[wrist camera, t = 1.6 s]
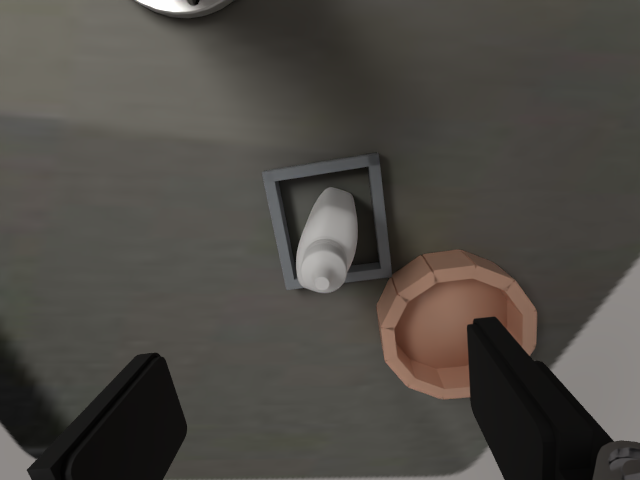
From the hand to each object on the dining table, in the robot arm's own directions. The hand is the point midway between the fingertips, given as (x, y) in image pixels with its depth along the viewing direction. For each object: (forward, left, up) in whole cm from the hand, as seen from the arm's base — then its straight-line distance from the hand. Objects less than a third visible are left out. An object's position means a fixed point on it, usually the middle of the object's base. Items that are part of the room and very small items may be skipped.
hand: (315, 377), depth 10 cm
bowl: (+9, +8, -18) cm, 22 cm away
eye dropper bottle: (0, 0, -18) cm, 18 cm away
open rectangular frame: (0, 0, -18) cm, 18 cm away
